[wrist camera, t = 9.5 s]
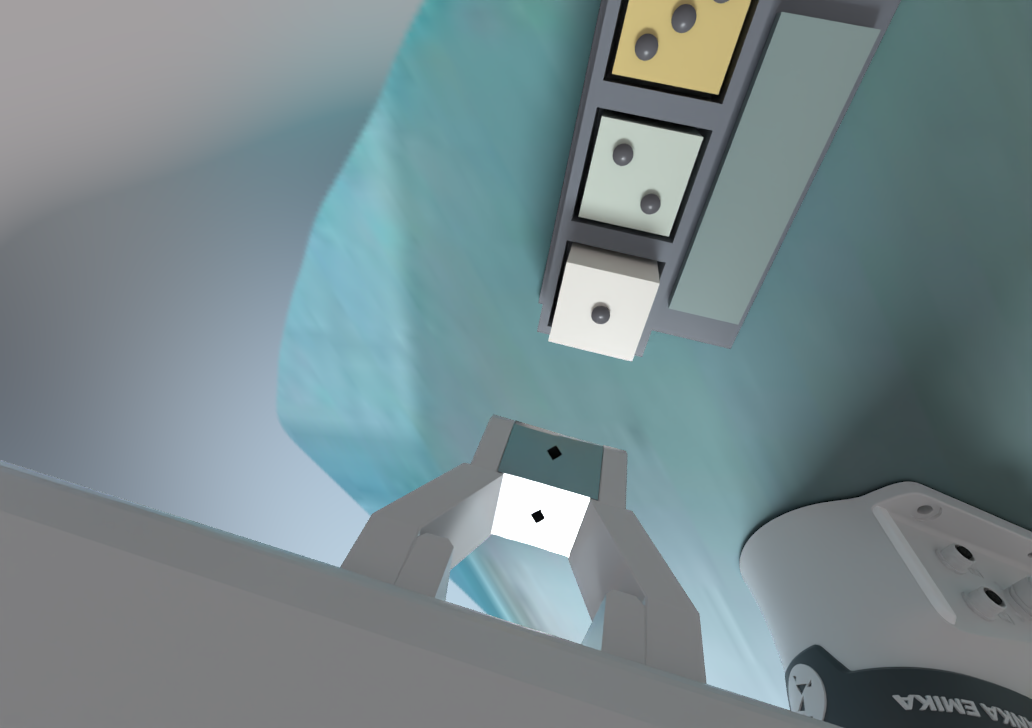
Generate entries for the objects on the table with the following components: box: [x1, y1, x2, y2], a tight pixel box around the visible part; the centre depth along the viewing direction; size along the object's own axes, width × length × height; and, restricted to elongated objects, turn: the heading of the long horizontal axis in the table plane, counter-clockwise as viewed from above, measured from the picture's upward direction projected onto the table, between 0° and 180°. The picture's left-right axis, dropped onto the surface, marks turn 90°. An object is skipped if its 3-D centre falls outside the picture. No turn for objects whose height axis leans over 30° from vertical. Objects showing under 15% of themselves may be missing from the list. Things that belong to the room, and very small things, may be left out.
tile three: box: [612, 0, 751, 95], centre depth 20 cm, size 4×4×4 cm
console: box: [537, 0, 901, 357], centre depth 23 cm, size 12×18×4 cm, turn 171°
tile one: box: [548, 242, 660, 361], centre depth 25 cm, size 4×4×4 cm
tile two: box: [578, 109, 703, 237], centre depth 23 cm, size 4×4×4 cm
